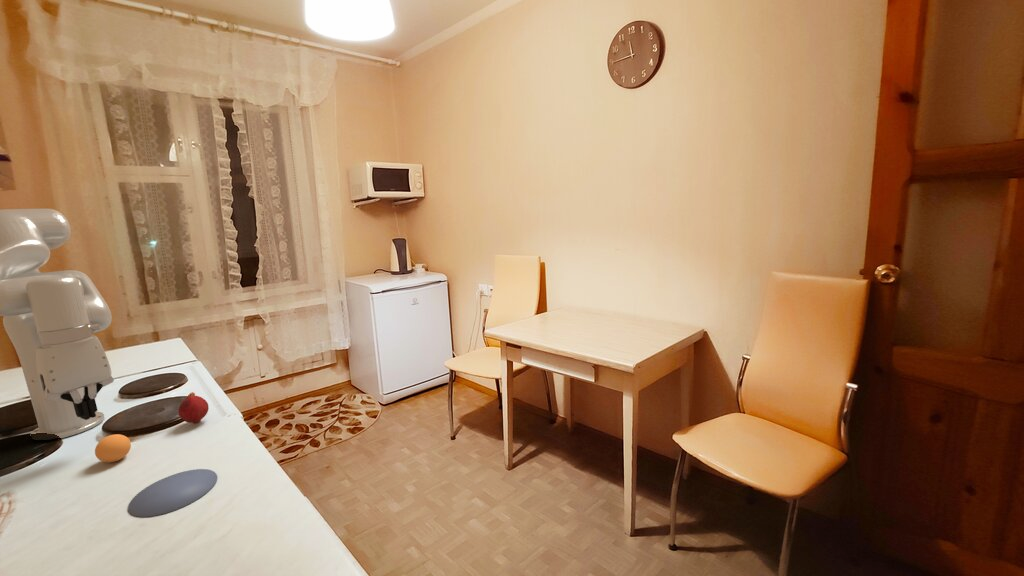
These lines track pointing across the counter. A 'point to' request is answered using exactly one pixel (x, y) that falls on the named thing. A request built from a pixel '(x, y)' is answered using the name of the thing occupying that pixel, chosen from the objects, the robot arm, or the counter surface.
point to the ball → (112, 448)
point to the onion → (193, 409)
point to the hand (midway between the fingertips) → (88, 417)
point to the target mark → (172, 493)
